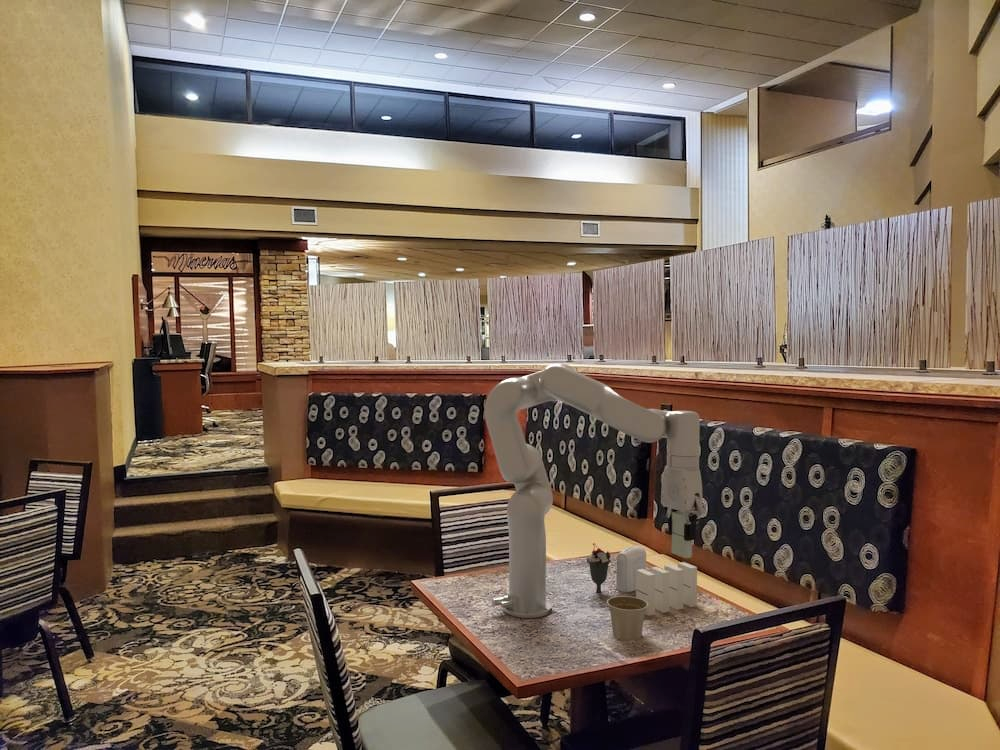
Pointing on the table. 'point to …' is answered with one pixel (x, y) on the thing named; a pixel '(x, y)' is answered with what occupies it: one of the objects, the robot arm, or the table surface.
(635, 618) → the flower pot
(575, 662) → the table surface
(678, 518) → the pale green domino
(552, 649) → the table surface
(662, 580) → the domino
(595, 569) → the sundae
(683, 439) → the robot arm
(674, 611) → the domino board
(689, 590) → the domino
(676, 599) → the domino
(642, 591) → the domino
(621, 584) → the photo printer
